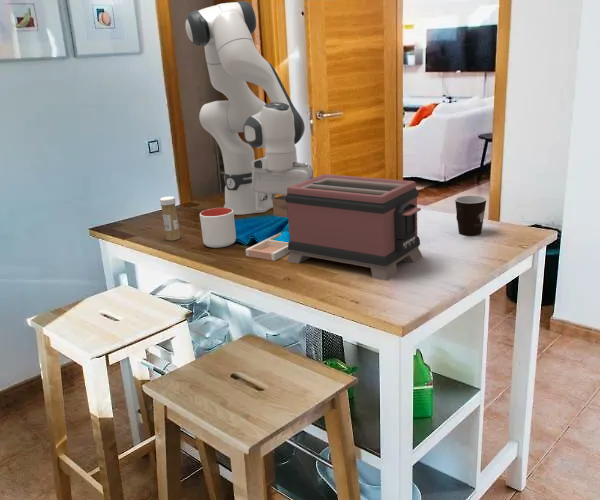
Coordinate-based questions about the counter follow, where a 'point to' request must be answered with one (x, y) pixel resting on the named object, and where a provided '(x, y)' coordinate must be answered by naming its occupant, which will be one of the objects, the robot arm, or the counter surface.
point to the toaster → (354, 222)
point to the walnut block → (280, 206)
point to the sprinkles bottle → (170, 218)
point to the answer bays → (269, 249)
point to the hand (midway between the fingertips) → (285, 209)
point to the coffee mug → (470, 214)
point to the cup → (218, 227)
